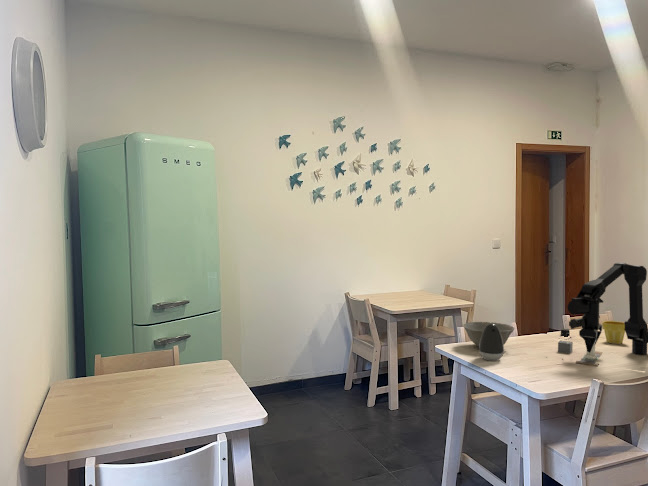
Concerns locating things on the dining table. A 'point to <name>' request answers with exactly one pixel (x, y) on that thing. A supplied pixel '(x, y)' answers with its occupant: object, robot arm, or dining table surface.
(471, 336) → the ceramic bowl
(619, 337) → the plant pot
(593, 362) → the board
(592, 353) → the pawn
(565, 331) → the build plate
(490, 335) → the dark grey egg shape
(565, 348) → the grey cube
